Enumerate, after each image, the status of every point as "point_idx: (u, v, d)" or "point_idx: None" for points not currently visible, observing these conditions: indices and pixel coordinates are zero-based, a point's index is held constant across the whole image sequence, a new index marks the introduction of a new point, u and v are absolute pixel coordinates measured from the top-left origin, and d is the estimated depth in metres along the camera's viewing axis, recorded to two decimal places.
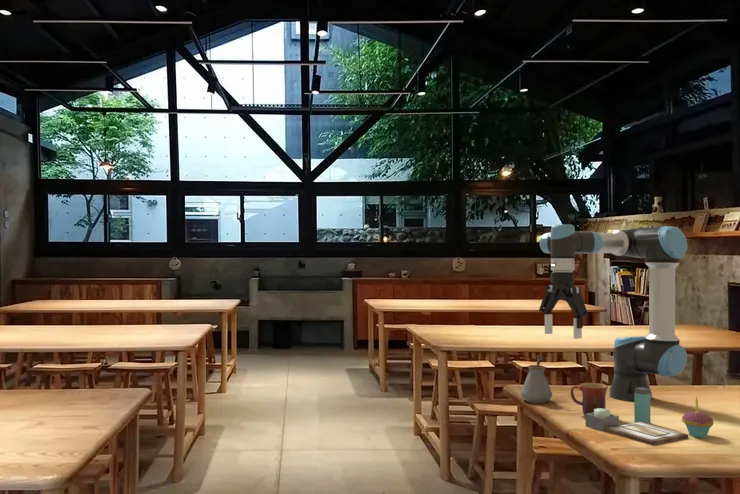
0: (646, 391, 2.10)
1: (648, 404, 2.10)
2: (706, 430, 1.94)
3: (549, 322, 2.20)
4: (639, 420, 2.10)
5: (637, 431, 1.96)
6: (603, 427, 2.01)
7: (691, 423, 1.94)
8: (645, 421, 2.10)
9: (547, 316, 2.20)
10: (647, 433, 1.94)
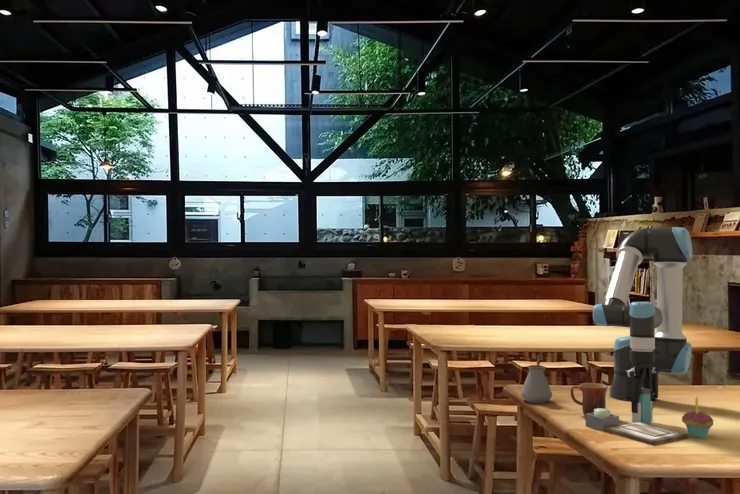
0: (646, 391, 2.10)
1: (648, 404, 2.10)
2: (706, 430, 1.94)
3: None
4: None
5: (637, 431, 1.96)
6: (603, 427, 2.01)
7: (691, 423, 1.94)
8: (645, 421, 2.10)
9: None
10: (647, 433, 1.94)
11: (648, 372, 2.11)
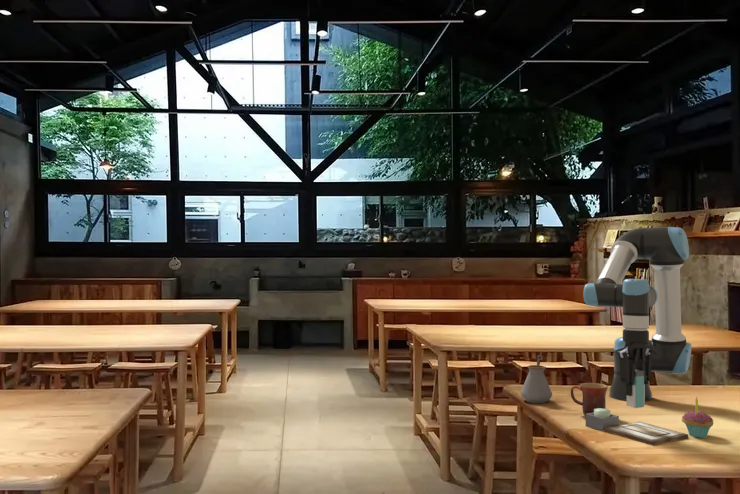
0: (639, 373, 1.99)
1: (641, 387, 1.99)
2: (706, 430, 1.94)
3: None
4: None
5: (637, 431, 1.96)
6: (603, 427, 2.01)
7: (691, 423, 1.94)
8: (638, 405, 1.99)
9: None
10: (647, 433, 1.94)
11: (642, 352, 2.00)
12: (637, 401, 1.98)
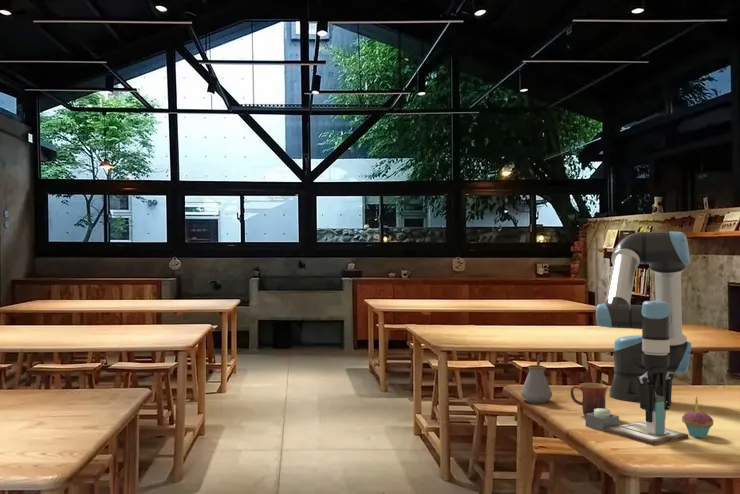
0: (659, 398, 1.93)
1: (662, 413, 1.93)
2: (706, 430, 1.94)
3: None
4: None
5: (637, 431, 1.96)
6: (603, 427, 2.01)
7: (691, 423, 1.94)
8: (658, 431, 1.93)
9: None
10: (647, 433, 1.94)
11: (662, 377, 1.93)
12: (657, 428, 1.92)
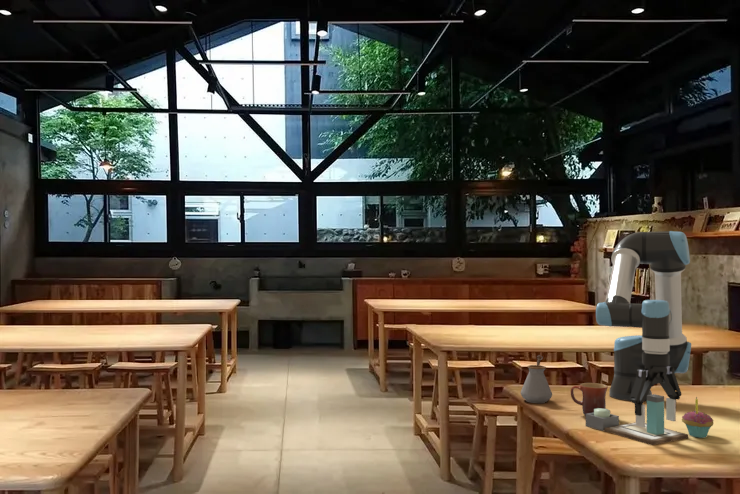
0: (659, 398, 1.93)
1: (662, 413, 1.93)
2: (706, 430, 1.94)
3: (670, 407, 1.98)
4: (652, 430, 1.93)
5: (637, 431, 1.96)
6: (603, 427, 2.01)
7: (691, 423, 1.94)
8: (658, 431, 1.93)
9: (667, 400, 1.98)
10: (647, 433, 1.94)
11: (663, 376, 1.94)
12: (657, 428, 1.92)
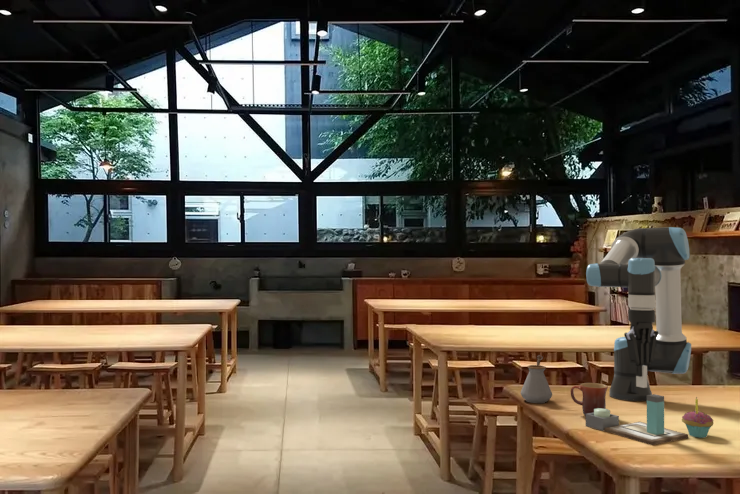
0: (659, 398, 1.93)
1: (662, 413, 1.93)
2: (706, 430, 1.94)
3: None
4: (652, 430, 1.93)
5: (637, 431, 1.96)
6: (603, 427, 2.01)
7: (691, 423, 1.94)
8: (658, 431, 1.93)
9: None
10: (647, 433, 1.94)
11: (647, 332, 1.97)
12: (657, 428, 1.92)
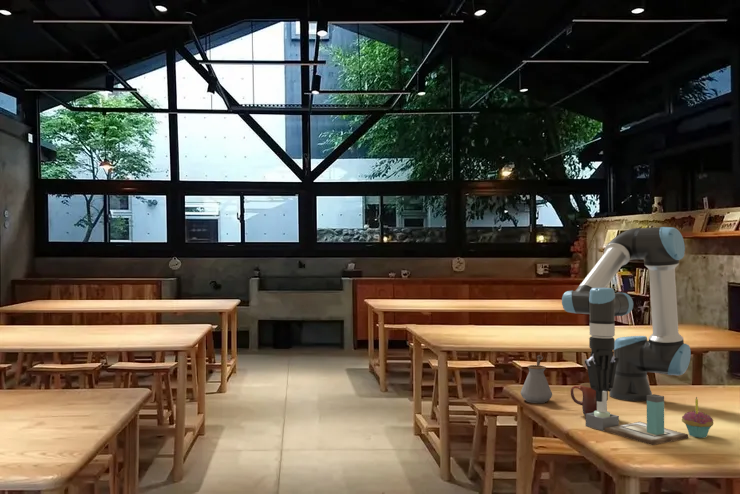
0: (659, 398, 1.93)
1: (662, 413, 1.93)
2: (706, 430, 1.94)
3: None
4: (652, 430, 1.93)
5: (637, 431, 1.96)
6: (603, 427, 2.01)
7: (691, 423, 1.94)
8: (658, 431, 1.93)
9: None
10: (647, 433, 1.94)
11: (607, 359, 2.05)
12: (657, 428, 1.92)
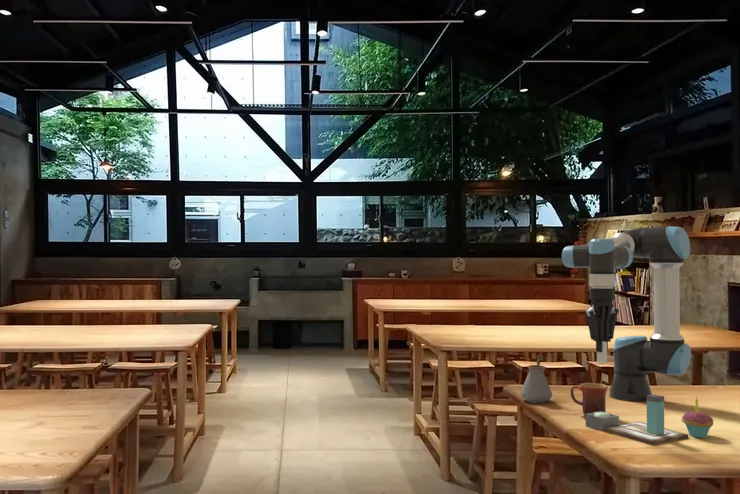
0: (659, 398, 1.93)
1: (662, 413, 1.93)
2: (706, 430, 1.94)
3: None
4: (652, 430, 1.93)
5: (637, 431, 1.96)
6: (603, 427, 2.01)
7: (691, 423, 1.94)
8: (658, 431, 1.93)
9: None
10: (647, 433, 1.94)
11: (607, 310, 2.05)
12: (657, 428, 1.92)
